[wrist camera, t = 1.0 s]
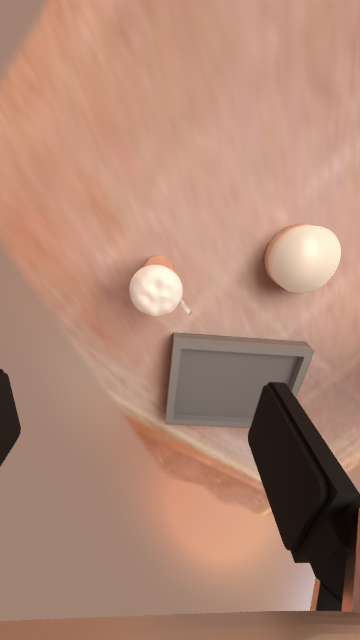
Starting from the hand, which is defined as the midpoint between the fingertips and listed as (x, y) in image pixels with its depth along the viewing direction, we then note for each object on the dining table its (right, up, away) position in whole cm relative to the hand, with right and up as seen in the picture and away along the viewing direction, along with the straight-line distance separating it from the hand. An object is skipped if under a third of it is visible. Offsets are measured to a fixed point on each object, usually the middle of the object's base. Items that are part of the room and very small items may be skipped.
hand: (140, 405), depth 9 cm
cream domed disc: (+15, +11, +19) cm, 26 cm away
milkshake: (-1, +9, +19) cm, 21 cm away
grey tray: (+9, -5, +26) cm, 28 cm away
